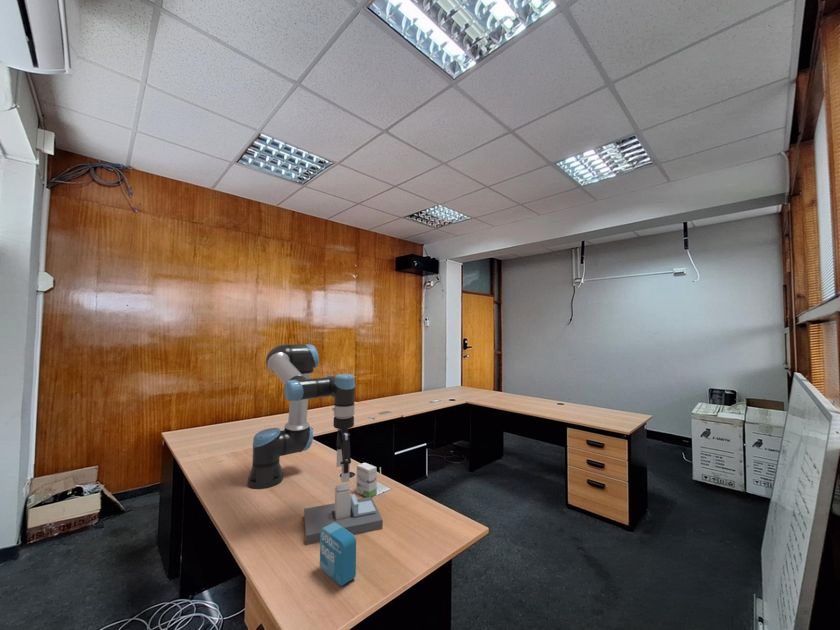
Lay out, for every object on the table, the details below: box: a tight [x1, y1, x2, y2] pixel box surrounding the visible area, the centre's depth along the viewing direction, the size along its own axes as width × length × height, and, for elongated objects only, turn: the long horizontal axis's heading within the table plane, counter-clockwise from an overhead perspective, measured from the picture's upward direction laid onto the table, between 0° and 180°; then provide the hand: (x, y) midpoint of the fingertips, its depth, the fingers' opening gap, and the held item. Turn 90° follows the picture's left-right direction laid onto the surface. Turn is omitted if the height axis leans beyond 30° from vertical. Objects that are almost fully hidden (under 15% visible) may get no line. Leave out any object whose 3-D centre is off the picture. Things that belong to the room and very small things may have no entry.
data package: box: [319, 522, 357, 587], centre depth 97 cm, size 12×4×12 cm, turn 48°
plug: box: [334, 483, 352, 521], centre depth 123 cm, size 5×5×13 cm
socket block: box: [303, 496, 384, 546], centre depth 123 cm, size 18×26×3 cm
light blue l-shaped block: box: [351, 493, 376, 517], centre depth 125 cm, size 8×8×4 cm
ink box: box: [356, 462, 378, 498], centre depth 145 cm, size 9×5×12 cm, turn 49°
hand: (342, 473), depth 124 cm, fingers open, 13 cm apart
